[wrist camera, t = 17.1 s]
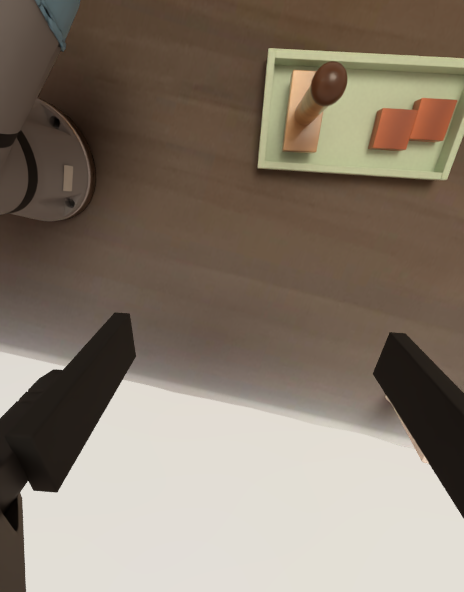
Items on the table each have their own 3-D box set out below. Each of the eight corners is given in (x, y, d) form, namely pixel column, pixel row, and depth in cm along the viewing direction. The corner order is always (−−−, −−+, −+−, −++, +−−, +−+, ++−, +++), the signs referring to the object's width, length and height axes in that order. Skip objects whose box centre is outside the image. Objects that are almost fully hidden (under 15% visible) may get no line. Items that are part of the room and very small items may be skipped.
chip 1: (367, 149, 32) (372, 147, 31) (377, 111, 31) (383, 107, 29) (399, 151, 32) (406, 149, 31) (410, 113, 30) (418, 109, 29)
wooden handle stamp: (280, 152, 33) (298, 135, 21) (289, 78, 30) (317, 8, 18) (311, 154, 33) (347, 138, 21) (323, 80, 30) (375, 10, 17)
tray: (257, 168, 34) (257, 167, 32) (267, 57, 30) (268, 48, 27) (434, 180, 34) (446, 180, 32) (474, 68, 29) (492, 59, 27)
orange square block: (402, 140, 32) (409, 138, 30) (414, 101, 30) (422, 97, 29) (435, 142, 31) (443, 140, 30) (448, 103, 30) (458, 99, 28)
